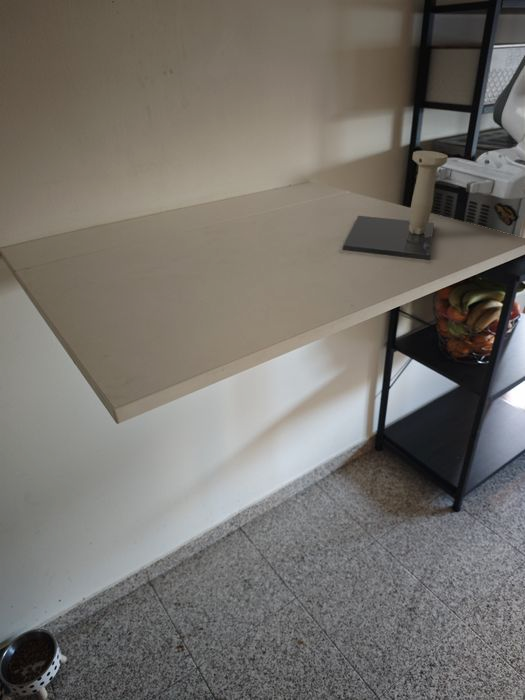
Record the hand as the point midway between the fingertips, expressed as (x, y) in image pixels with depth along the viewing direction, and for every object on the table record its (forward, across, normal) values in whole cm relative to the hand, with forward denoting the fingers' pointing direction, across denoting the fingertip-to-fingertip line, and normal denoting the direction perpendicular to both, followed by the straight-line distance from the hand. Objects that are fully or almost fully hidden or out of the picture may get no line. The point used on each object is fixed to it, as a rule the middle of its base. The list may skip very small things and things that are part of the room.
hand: (449, 182), depth 99 cm
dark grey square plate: (+12, -2, +10) cm, 16 cm away
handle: (+7, 0, +9) cm, 11 cm away
